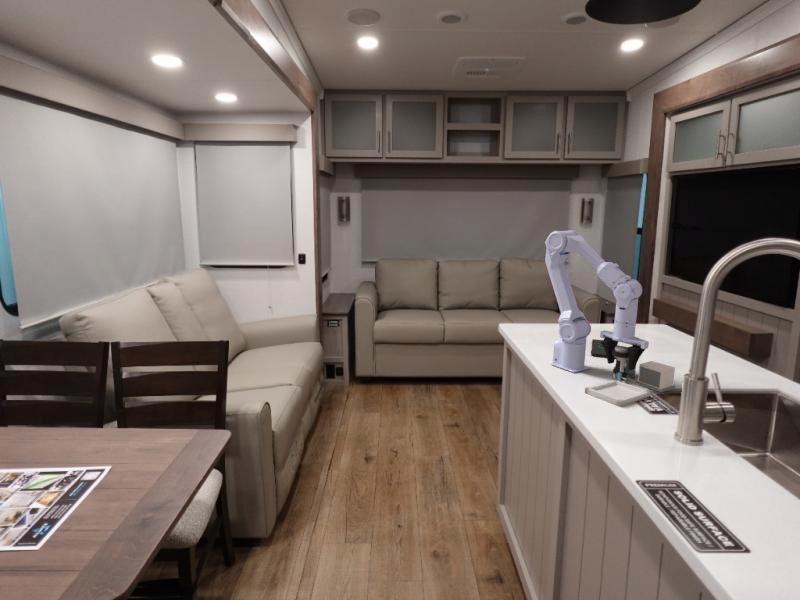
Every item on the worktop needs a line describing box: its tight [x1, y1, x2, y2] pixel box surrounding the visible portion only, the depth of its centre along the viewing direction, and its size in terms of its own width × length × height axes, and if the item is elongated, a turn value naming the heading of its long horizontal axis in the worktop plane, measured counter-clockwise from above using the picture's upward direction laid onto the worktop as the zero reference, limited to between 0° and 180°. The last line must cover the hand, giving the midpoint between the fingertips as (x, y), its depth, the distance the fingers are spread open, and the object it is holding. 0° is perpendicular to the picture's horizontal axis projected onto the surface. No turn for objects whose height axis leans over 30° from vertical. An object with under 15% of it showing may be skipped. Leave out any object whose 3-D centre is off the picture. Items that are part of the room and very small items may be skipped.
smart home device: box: [590, 338, 616, 360], centre depth 178 cm, size 8×2×20 cm
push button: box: [611, 345, 629, 384], centre depth 146 cm, size 7×5×10 cm
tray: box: [584, 379, 651, 407], centre depth 135 cm, size 11×13×2 cm
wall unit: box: [634, 360, 676, 393], centre depth 142 cm, size 8×7×6 cm
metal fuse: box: [624, 357, 637, 378], centre depth 152 cm, size 4×4×7 cm
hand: (620, 366), depth 146 cm, fingers open, 6 cm apart
